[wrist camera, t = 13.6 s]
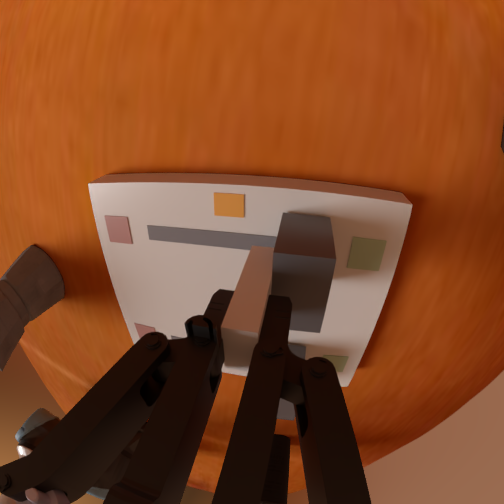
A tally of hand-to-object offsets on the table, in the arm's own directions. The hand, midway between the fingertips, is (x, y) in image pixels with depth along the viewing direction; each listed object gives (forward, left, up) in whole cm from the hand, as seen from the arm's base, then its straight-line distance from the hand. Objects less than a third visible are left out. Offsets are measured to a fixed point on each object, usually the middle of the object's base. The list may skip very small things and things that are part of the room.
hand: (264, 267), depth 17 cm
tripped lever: (+2, 0, -3) cm, 3 cm away
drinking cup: (+3, -40, -6) cm, 41 cm away
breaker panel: (-3, -6, -6) cm, 9 cm away
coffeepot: (-32, -10, -6) cm, 34 cm away
